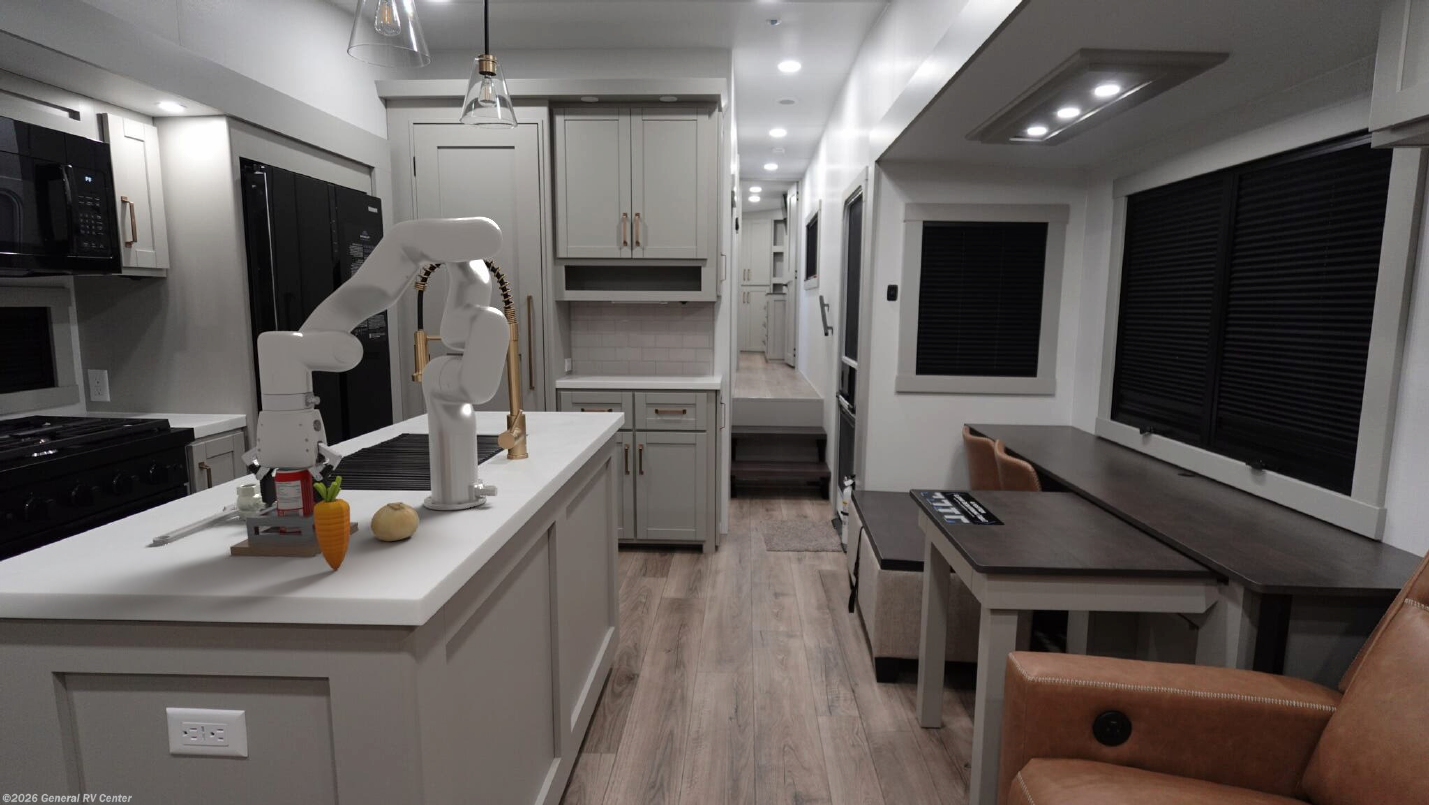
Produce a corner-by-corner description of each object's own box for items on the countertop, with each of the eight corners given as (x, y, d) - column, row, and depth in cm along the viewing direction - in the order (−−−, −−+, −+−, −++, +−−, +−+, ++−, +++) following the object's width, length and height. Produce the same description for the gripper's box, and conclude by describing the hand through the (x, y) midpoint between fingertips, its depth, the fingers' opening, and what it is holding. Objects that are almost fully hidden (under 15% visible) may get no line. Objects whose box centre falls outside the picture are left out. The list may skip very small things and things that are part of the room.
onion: (361, 542, 121) (358, 503, 120) (394, 529, 128) (392, 492, 127) (397, 547, 118) (395, 508, 117) (429, 533, 126) (427, 496, 125)
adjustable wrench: (164, 549, 118) (162, 539, 118) (130, 547, 119) (129, 537, 118) (273, 507, 143) (272, 499, 142) (245, 506, 143) (244, 498, 143)
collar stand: (358, 530, 127) (356, 499, 126) (314, 556, 113) (311, 521, 113) (284, 529, 127) (281, 498, 127) (230, 555, 113) (227, 520, 113)
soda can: (312, 526, 124) (306, 462, 123) (319, 533, 120) (313, 466, 119) (277, 533, 120) (270, 467, 119) (283, 540, 116) (276, 471, 115)
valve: (226, 520, 133) (263, 529, 128) (223, 488, 132) (261, 495, 127) (261, 512, 139) (298, 520, 133) (258, 480, 138) (296, 487, 133)
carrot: (315, 578, 104) (309, 482, 102) (319, 567, 109) (313, 475, 107) (352, 573, 106) (346, 480, 104) (354, 562, 111) (349, 473, 109)
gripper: (350, 400, 121) (355, 495, 123) (252, 399, 121) (260, 494, 123) (325, 406, 113) (332, 507, 116) (222, 405, 114) (230, 506, 116)
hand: (295, 500), depth 119 cm, fingers open, 8 cm apart
